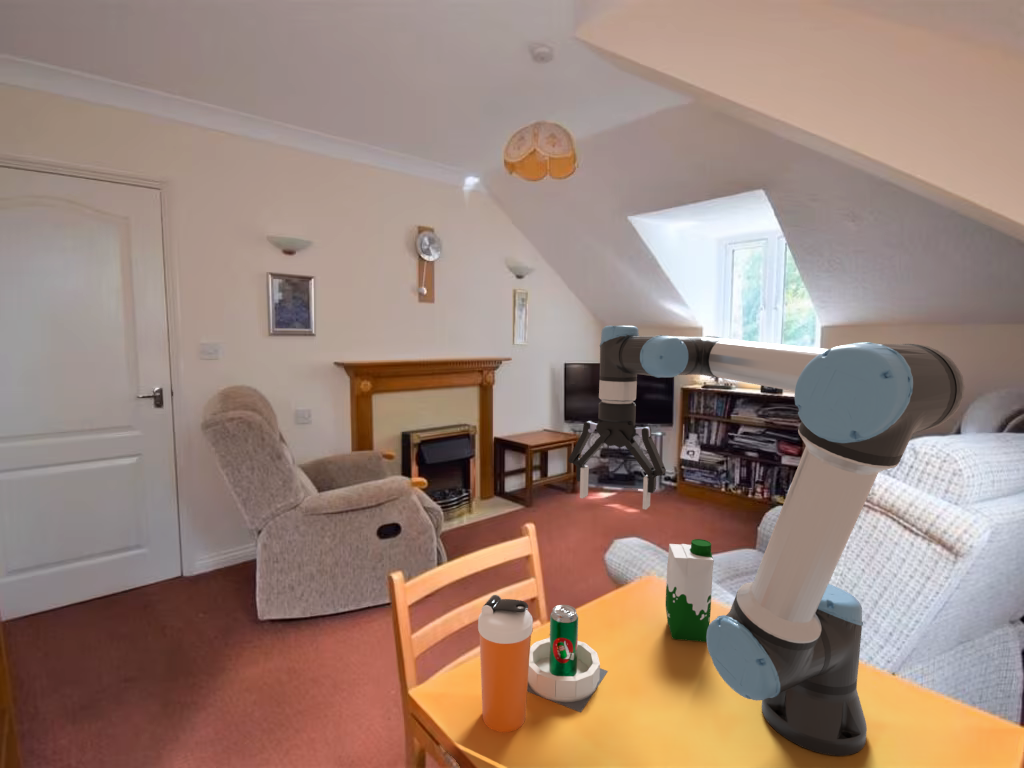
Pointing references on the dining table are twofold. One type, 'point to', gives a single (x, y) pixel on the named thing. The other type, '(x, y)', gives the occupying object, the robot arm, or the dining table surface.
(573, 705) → the mat
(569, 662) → the soda can
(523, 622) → the shaker bottle
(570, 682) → the bowl
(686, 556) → the milk carton
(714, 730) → the dining table surface
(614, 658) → the dining table surface
